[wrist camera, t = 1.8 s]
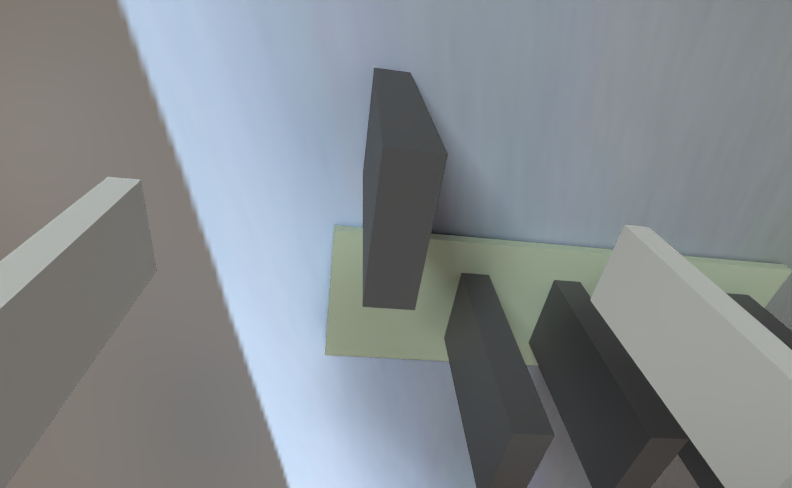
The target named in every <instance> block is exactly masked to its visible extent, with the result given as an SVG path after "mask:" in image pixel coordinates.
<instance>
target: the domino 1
mask: <svg viewBox="0 0 792 488" xmlns="http://www.w3.org/2000/svg"><path fill="white" fill-rule="evenodd" d="M447 155H448V154H447V152H446V150H445V147H444V145H443V143H442V141H441V139H440V136H439V134H438V132H437V130H436V128H435V125H434V123H433V121H432V119H431V117H430V114H429V112H428V110H427V108H426V106H425V103H424V101H423V99H422V97H421V95H420V92H419V90H418V88H417V86H416V84H415V81H414V79H413V77H412V75H411V73H409V72H402V71H394V70H387V69H379V68H374V75H373V84H372V94H371V103H370V113H369V122H368V132H367V141H366V151H365V160H364V170H363V307H372V308H387V309H403V310H415V308H416V303H417V298H418V293H419V289H420V284H421V279H422V274H423V270H424V265H425V260H426V255H427V250H428V246H429V241H430V236H431V231H432V226H433V222H434V217H435V212H436V207H437V203H438V198H439V193H440V188H441V183H442V179H443V174H444V169H445V164H446V160H447Z"/></svg>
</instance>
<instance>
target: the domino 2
mask: <svg viewBox="0 0 792 488" xmlns="http://www.w3.org/2000/svg"><path fill="white" fill-rule="evenodd" d="M444 340H445V345H446V349H447V354H448V359H449V363H450V368H451V372H452V377H453V382H454V386H455V391H456V395H457V400H458V405H459V409H460V414H461V418H462V423H463V428H464V432H465V437H466V441H467V446H468V450H469V455H470V460H471V464H472V469H473V473H474V478H475V483H476V487H477V488H527V486H528V484H529V482H530V480H531V479H532V477H533V475H534V473H535V471H536V469H537V467H538V465H539V464H540V462H541V460H542V458H543V456H544V454H545V452H546V450H547V449H548V447H549V445H550V443H551V441H552V439H553V437H554V432H553V430H552V428H551V425H550V423H549V420H548V418H547V415H546V413H545V411H544V408H543V406H542V403H541V401H540V398H539V396H538V393H537V391H536V389H535V386H534V384H533V381H532V379H531V376H530V374H529V371H528V369H527V367H526V364H525V362H524V359H523V357H522V354H521V352H520V350H519V347H518V345H517V342H516V340H515V337H514V335H513V332H512V330H511V328H510V325H509V323H508V320H507V318H506V315H505V313H504V310H503V308H502V306H501V303H500V301H499V298H498V296H497V293H496V291H495V288H494V286H493V284H492V281H491V279H490V276H489V275H484V274H471V273H461V276H460V280H459V284H458V287H457V291H456V295H455V299H454V302H453V306H452V310H451V314H450V317H449V321H448V325H447V329H446V332H445V336H444Z"/></svg>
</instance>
